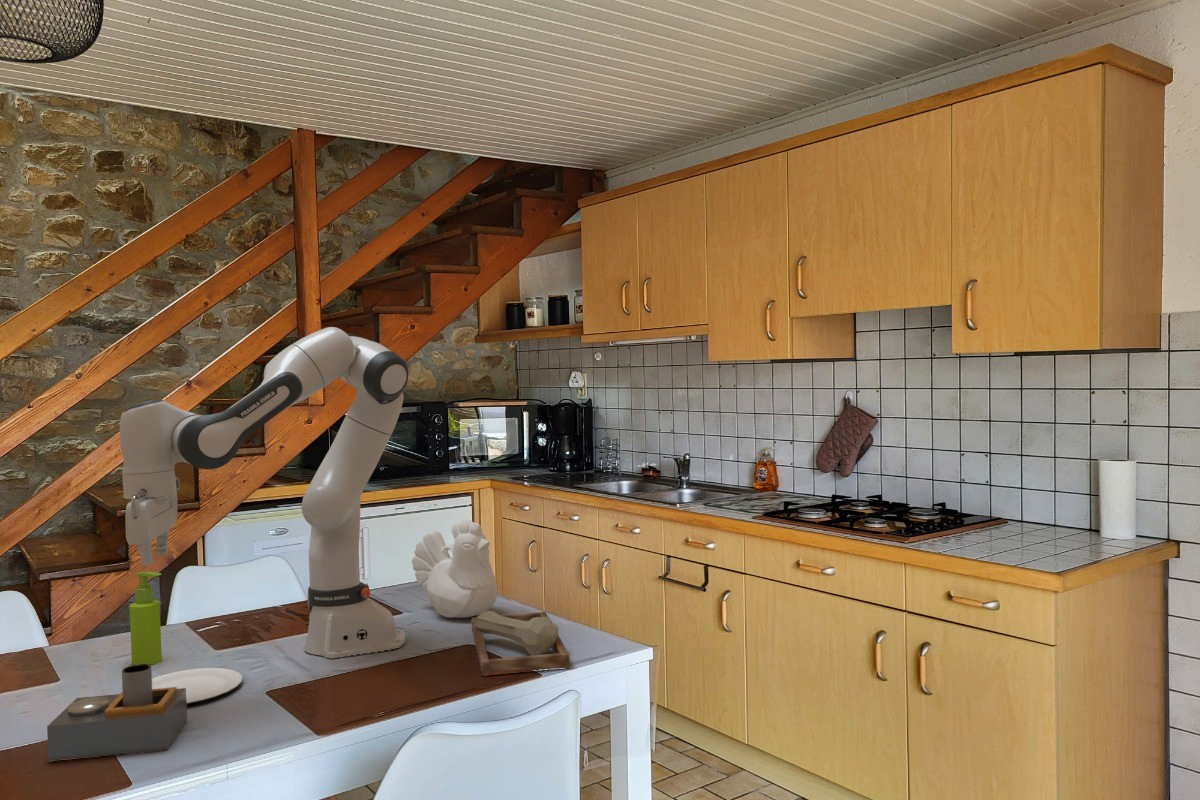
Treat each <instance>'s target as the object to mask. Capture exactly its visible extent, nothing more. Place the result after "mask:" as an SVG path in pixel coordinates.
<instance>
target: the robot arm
mask: <svg viewBox="0 0 1200 800" xmlns="http://www.w3.org/2000/svg"><path fill="white" fill-rule="evenodd" d="M409 370H410V369H409V365H408V364H407V362H406V360H405V359H404V358H402V357H401V355H399V354H398V353H397V352H394V351H392V350H390V349H389V348H388V347H386V346H384V345H383V344H381V343H379V342H376V341H373V340H369V339H367V338H364V337H362V336H360V335H358V334H353V333H347V332H346V331H344V330H343V329H341V328H338V327H333V326H329V327H324V328H322V329H320V330H317V331H315V332H312V333H309V334H308V335H306V336H304V337H302V338H300V339H299V340H297V341H295V342H294V343H292V344H289V346H287V347H285V348H283V350H281V351H280V352H278V353H277V354H276V355H275V356H273V358H272V359H271V360H270V361H268V362H267V364H266V365H265V367H264V371H263V380H262V382H261V383H260V385H259V386H257V387H256V388H255V389H254V390H252V391H251V392H250V393H248V394H247V395H246V396H244V397H242V399H240V400H238V401H237V402H235V403H234V404H232V405H231V406H229V408H227V409H225V410H222V411H221V412H217V413H212V414H207V415H206V414H204V415H203V414H199V413H198V414H197V413H194V412H191V411H188V410H184V409H181V408H180V407H177V406H175V405H172V404H170V403H168V402H167V401H166V400H164V399H159V398H158V399H152V400H145V401H142V402H141V401H140V402H137V403H133V404H131V405H129V406H127V407H125V409H124V410H123V411H122V413H121V414H120V415H121V416H120V420H119V445H120V448H119V449H120V452H121V454H122V455H121V456H122V457H123V458H122V459H123V465H122V466H123V467H122V471H121V473H122V474H121V475H122V477H121V478H122V489H123V491H122V492H123V498H124V499H125V500H130V502H129V501H128V502H127V504H126V507H125V538H126V539H125V540H126V542H127V544H128V545H130V546H133V545H136V549H137V552H138V555H139V556H140V565H141V566H145V567H146V566H150V565H152V564H153V563H154V553H153V552H152V545H153V544H152V542H153V540H154V539H156V540H155V541H156V542H155V543H156V545H155V546H154V549H155V554H156V555H157V556H164V555H165V554H167V553H168V552H169V551H168V550H169V549H168V543H169V542H168V541H169V536H170V530H171V529H172V528H174V527H175V526H176V525H177V521H178V492H177V491H178V490H180V479H179V477H177V476H176V471H175V465H176V464H178V463H186V464H188V465H191V466H193V467H195V468H197V469H200V470H216V469H219V468H222V467H224V466H225V465H227V464H229V463H230V461H231V460H233V458H234V457H235V456H236V454H238V451H239V450H240V449H241V447H242V446H243V443H244V442H245V441H246V439H247V438H248V437H250V436H251V435H252V434H253V433H254V432H256V431H257V430H259V429H260V428H261V427H262V426H264V425H265V424H266V423H268V422H269V421H271V420H272V419H273V418H275V417H276V416H277V415H279V414H280V413H282V412H284V411H285V410H286V409H287V408H290V407H292V406H294V405H296V404H298V403H300V402H302V401H304V400H306V399H308V398H310V397H311V396H313V395H315V394H317V393H318V392H319V391H321V390H322V389H324V388H326V387H327V386H328V385H330V384H331V383H332V382H334V381H335V380H336V379H340V380H342V381H343V382H344V383H346V384H347V385H349V386H350V387H352V388H354V389H355V390H356V391H355V392H356V394H355V399H354V400H353V401H352V404H351V406H350V407H349V408H348V411H347V412H346V415H345V417H344V419H343V421H342V423H341V425H340V427H339V429H338V432H337V434H336V436H335V438H334V440H333V442H332V443H331V446H330V447H329V449H328V451H327V453H326V454H325V456H324V458H323V460H322V462H321V463H320V465H319V467H318V468H317V470H316V472H315V474H314V476H313V478H312V480H311V481H310V483H309V485H308V487H307V489H306V491H305V493H304V494H303V497H302V500H301V501H302V502H301V513H302V516H303V519H305V521H306V522H307V524H309V526H310V527H311V529H310V541H309V549H308V571H309V586H308V588H307V609H308V613H309V618H308V619H309V620H308V621H309V622H308V630H307V636H306V639H305V641H306V642H305V645H304V651H305V653H308V654H311V655H315V656H322V657H324V658H328V659H338V657H339V658H344V657H345V656H346V657H352V656H351V655H353V656H358V655H357V654H360V655H364V654H363V653H367V654H372V653H371V652H374V653H379V652H378V651H381V652H385V651H384V650H388V651H391V650H390V649H395V648H398V647H400V646H401V647H403V646H404V645H405V643H406V641H405V640H407V638H406V633H405V632H404V631H403V630H401V629H399V628H396V622H395V618H394V616H393V614H392V612H391V610H389V609H388V608H386V607H384V606H383V605H381V604H379V603H378V602H377V601H375V600H374V599H372V598H370V595H371V589H370V586H369V583H364V582H361V579H360V578H361V577H360V576H361V575H360V530H361V528H360V527H361V496H362V493H363V491H364V490H365V488H366V486H367V484H368V482H369V480H370V478H371V476H372V475H373V473H374V471H375V469H376V467H377V465H378V463H379V462H380V460H381V457H382V455H383V453H384V451H385V449H386V447H387V444H388V442H389V440H390V439H391V436H392V434H393V432H394V430H395V428H396V425H397V423H398V419H399V417H400V414H401V411H402V406H403V402H404V399H405V398H404V390H405V388H406V387H407V384H408V382H409V381H408V380H409V375H410V374H409ZM404 642H405V643H404ZM403 644H404V645H403ZM402 645H403V646H402ZM401 647H400V648H401ZM398 649H399V648H398ZM395 650H396V649H395ZM346 657H345V658H346Z"/></svg>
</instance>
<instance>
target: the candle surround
mask: <svg viewBox="0 0 1200 800" xmlns="http://www.w3.org/2000/svg"><path fill="white" fill-rule="evenodd" d="M499 615H500V614H499ZM500 616H502V617H507V618H512V619H517V620H521V621H529V620H531V619H532V618H535V617H549V616H548V613H547V612H546V611H539V612H525V613H516V614H514V613H513V614H503V615H500ZM477 617H478V616H474V617H471V632H472V636H474V637H473V641H475V642H474V645H476V646H475V650H476V649H477V651H476V654H477V653H478V655H477V658H478V657H479V660H478V663H479V662H480V665H479V667H480V666H481V669H480V671H481V670H482V673H484V672H495V671H504V670H519V669H524V670H525V669H528V670H539V669H551V668H569V669H570V655H569V654H570V653H569V652H568V650H567V648H566V647H565V645H564V643H563V641H562V640H561V637H560V636H559V634H558V633H557V637H556V641H555V644H554V645H553V646H552V648H551V650H552V652H553V651H554V652H553V653H546V654H539V655H532V656H531V655H523V656H522V655H521V656H513V657H501V658H489V656H488V652H487V649H486V643H485V641H484V637H483V632H481V630H479V629H477V628H476V627H475V626H474V625H475V620H476V618H477Z"/></svg>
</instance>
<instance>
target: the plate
mask: <svg viewBox="0 0 1200 800" xmlns="http://www.w3.org/2000/svg"><path fill="white" fill-rule="evenodd" d="M243 678H244V677H243V676H242V673H240V672H239V671H236V670H234V669H230V668H224V667H223V668H221V667H219V668H218V667H205V668H204V667H203V668H202V667H200V668H193V669H192V668H191V669H185V670H180V671H174V672H170V673H166V674H163V675H159V676H155V677H152V689H159V688H171V687H177V689H181V688H186V703H187V705H191V704H196V703H197V704H198V703H200V702H205V701H209V700H211V699H216V698H218V697H220V696H223V695H225V694H228V693H230V692H231V691H233V690H235V689H236V688H238V686H239V685H241V684H242V682H243V680H244V679H243Z"/></svg>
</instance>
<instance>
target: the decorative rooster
mask: <svg viewBox="0 0 1200 800" xmlns="http://www.w3.org/2000/svg"><path fill="white" fill-rule="evenodd" d="M451 533H452V535H453V539H454V542H453V544H452V543H448V544H446V542H445V540H444V537H443V535H442V534H441V532H440V531H438V530H431V531H429V532H428V533H426V534H424V536H422V539H421V540H420V541H418V542H417V544H416V546H415V549H414V555H413V557H412V559H411V565H412V569H413V571H414V576H415V579H416V580H415V581H416V583H417V584H419V586H422V589H423V590H424V592H425V593H427V595H428V599H429V601H430V602H431V605H432V607H433V608H434V610H435V611H436V612H438V614H439V615H441V616H443V617H445V618H450V619H451V618H452V619H454V618H456V619H457V618H460V619H461V618H470V617H471V618H472V617H477V616H479V615H480V614H481V613H482V612H483V611H489V610H490V609H491V608H492V607H493V606H494V604H495V603H496V601H497V598H498V587H497V580H496V576H495V574H494V571H493V569H492V566H491V563H490V549H489V547H490V541H489V540H487V537H486V536H485V534H484V533H483V528H482V526H481V524H479V523H478V522H473V521H472V520H469V519H464V520H461V521H460V522H459V521H458V522H455V523H454V524H453V525H452V528H451ZM449 551H450V552H451V553H452V554H451V555H452V557H451V555H450V553H449Z"/></svg>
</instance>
